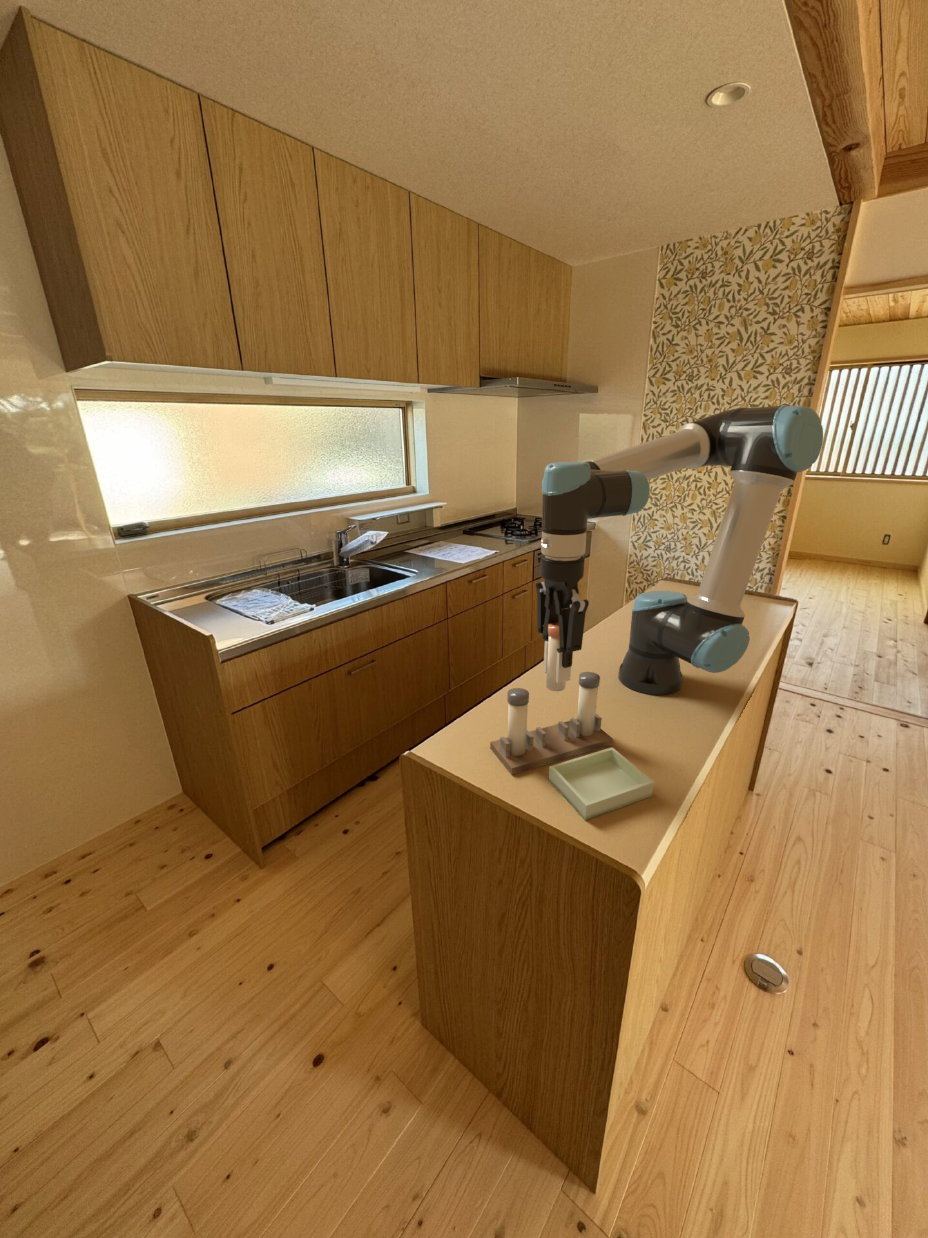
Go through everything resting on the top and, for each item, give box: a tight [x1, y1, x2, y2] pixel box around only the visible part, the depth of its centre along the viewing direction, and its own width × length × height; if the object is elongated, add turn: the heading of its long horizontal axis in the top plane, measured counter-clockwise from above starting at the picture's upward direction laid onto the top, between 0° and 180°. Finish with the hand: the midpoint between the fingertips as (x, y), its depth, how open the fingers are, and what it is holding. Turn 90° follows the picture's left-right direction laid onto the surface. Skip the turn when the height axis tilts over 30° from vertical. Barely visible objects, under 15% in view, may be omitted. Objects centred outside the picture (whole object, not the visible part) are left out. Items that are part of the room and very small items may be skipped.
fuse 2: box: [576, 671, 601, 736], centre depth 100 cm, size 4×4×13 cm
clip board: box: [489, 713, 614, 776], centre depth 99 cm, size 23×9×4 cm, turn 113°
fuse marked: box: [545, 622, 567, 692], centre depth 93 cm, size 4×4×13 cm
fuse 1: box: [506, 687, 530, 756], centre depth 94 cm, size 4×4×13 cm
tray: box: [548, 747, 655, 821], centre depth 88 cm, size 14×11×3 cm
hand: (556, 675), depth 95 cm, fingers closed on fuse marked, 3 cm apart
